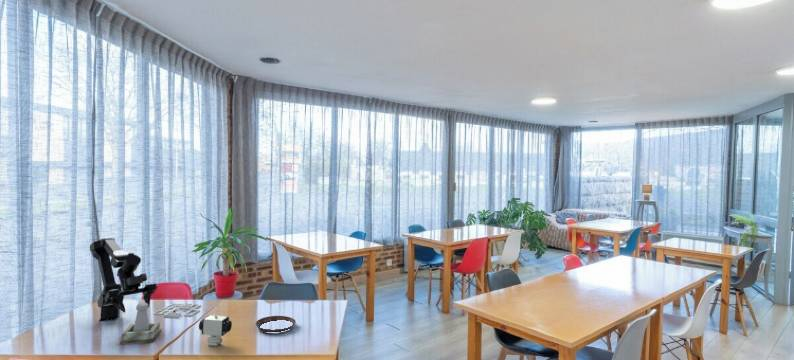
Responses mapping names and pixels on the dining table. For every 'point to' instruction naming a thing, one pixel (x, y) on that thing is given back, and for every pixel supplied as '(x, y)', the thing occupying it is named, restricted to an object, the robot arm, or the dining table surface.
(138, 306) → the grey round-headed cylinder
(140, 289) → the robot arm
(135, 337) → the holder
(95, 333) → the dining table surface
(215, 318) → the pneumatic valve
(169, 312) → the floor plan model
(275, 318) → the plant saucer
